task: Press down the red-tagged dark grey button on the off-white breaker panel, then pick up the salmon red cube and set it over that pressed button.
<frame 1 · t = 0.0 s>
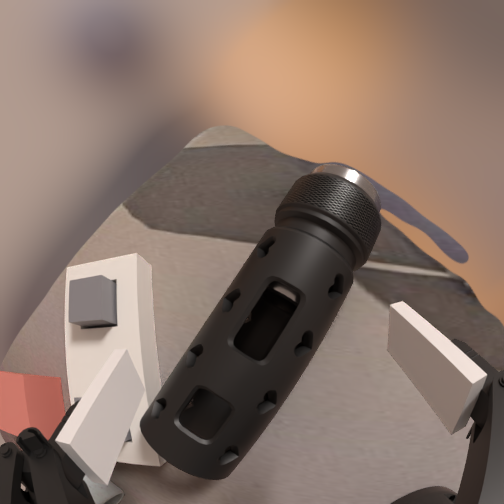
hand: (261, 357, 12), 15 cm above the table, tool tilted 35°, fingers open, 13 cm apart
breaker panel: (119, 362, 27), on the table
button plain: (105, 418, 21), point 4 cm above the table, slide at 0.0 cm
muzzle brake: (273, 325, 28), on the table
ceramic mug: (96, 485, 21), on the table
salmon red cube: (45, 403, 25), on the table
button tagged: (95, 303, 25), point 4 cm above the table, slide at 0.0 cm
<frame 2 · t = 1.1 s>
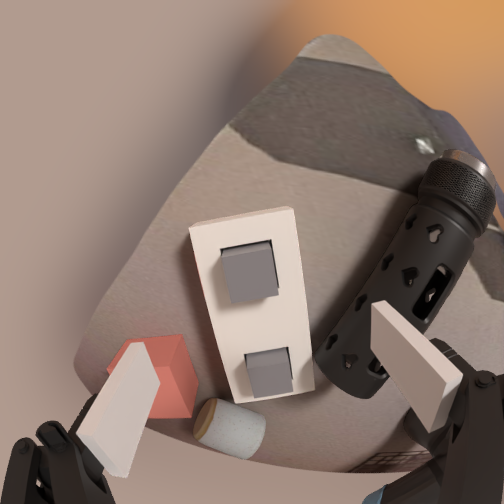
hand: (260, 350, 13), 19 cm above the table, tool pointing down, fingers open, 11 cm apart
breaker panel: (258, 307, 33), on the table
button plain: (269, 370, 29), point 5 cm above the table, slide at 0.0 cm
muzzle brake: (393, 260, 32), on the table
ceramic mug: (226, 415, 37), on the table
salmon red cube: (162, 362, 34), on the table
button tagged: (250, 270, 27), point 4 cm above the table, slide at 0.0 cm
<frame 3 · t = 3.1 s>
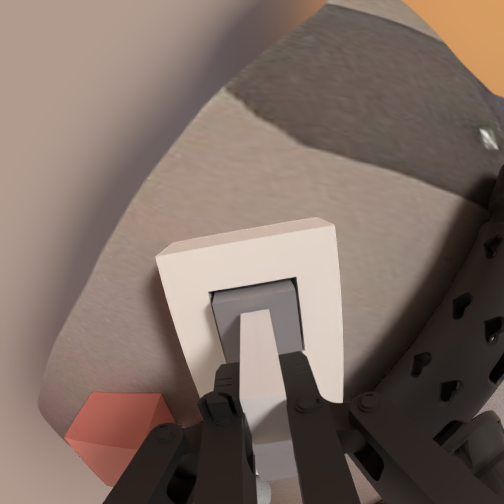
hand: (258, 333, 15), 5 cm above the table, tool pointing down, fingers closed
breaker panel: (268, 364, 21), on the table
button plain: (283, 448, 18), point 5 cm above the table, slide at 0.0 cm
muzzle brake: (450, 291, 21), on the table
ceramic mug: (222, 475, 26), on the table
salmon red cube: (139, 421, 23), on the table
button tagged: (258, 317, 17), point 3 cm above the table, slide at 1.4 cm, touching gripper
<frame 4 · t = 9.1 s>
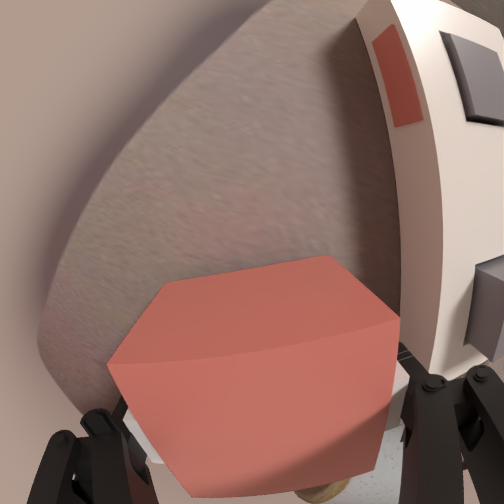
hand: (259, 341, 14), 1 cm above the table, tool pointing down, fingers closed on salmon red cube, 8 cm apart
breaker panel: (457, 186, 14), on the table
button plain: (501, 299, 11), point 4 cm above the table, slide at 0.0 cm
ceramic mug: (336, 439, 19), on the table
salmon red cube: (259, 341, 14), point 1 cm above the table, touching gripper
button tagged: (466, 85, 10), point 2 cm above the table, slide at 2.0 cm, touching breaker panel
when the fingers open (6 cm above the table, at t = 14.1 s): salmon red cube drops 1 cm, resting on breaker panel.
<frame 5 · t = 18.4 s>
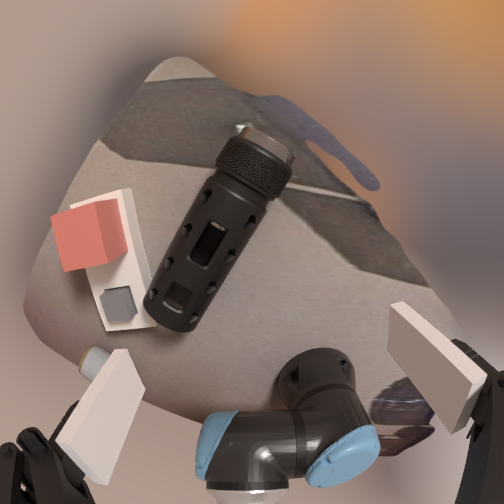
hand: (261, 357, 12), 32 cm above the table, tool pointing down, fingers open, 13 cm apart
breaker panel: (119, 259, 44), on the table
button plain: (119, 303, 41), point 4 cm above the table, slide at 0.0 cm
muzzle brake: (218, 226, 43), on the table
ceramic mug: (109, 363, 49), on the table
salmon red cube: (100, 229, 38), point 4 cm above the table, touching breaker panel
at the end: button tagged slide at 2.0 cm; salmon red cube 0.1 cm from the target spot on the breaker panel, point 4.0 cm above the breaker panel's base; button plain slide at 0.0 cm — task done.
